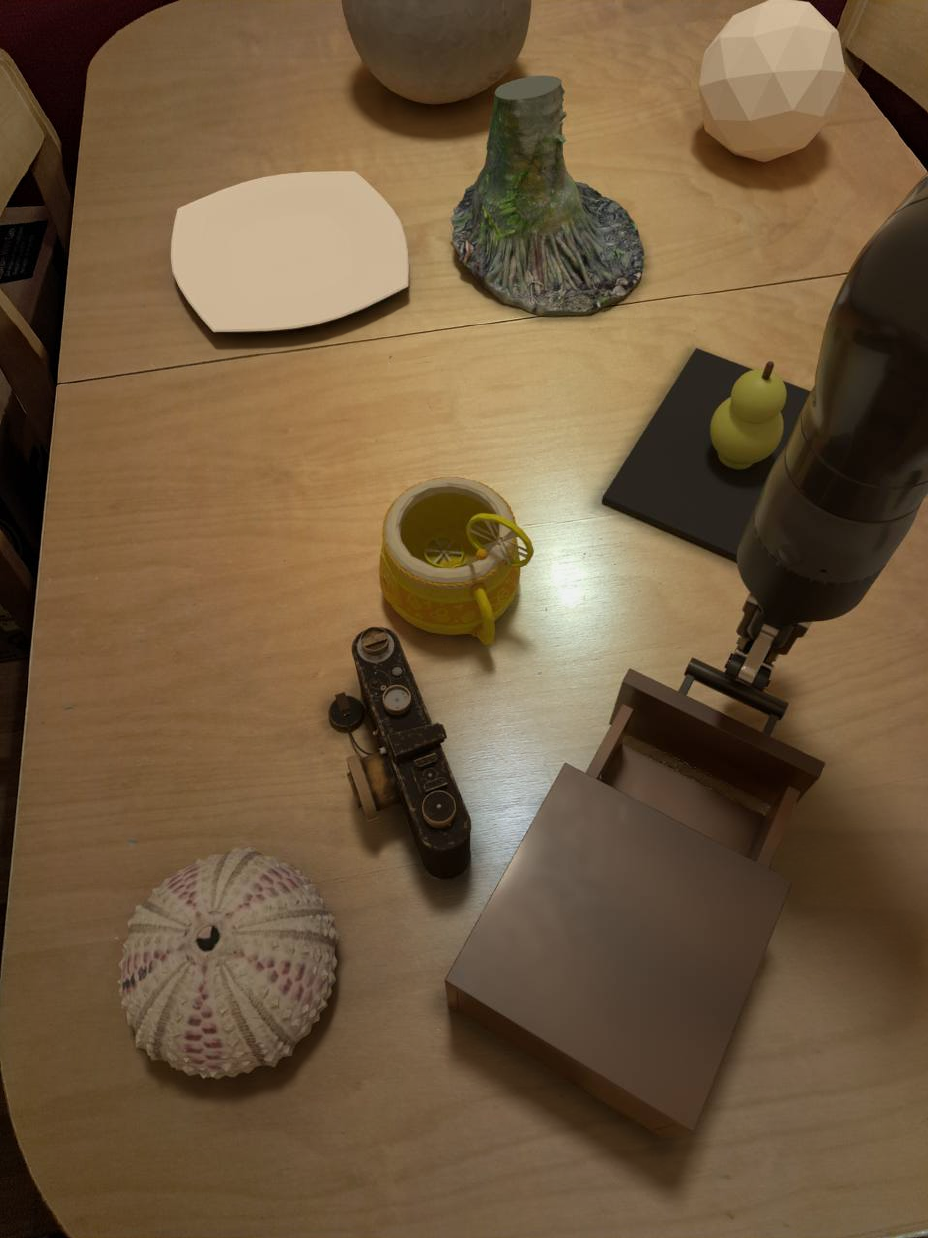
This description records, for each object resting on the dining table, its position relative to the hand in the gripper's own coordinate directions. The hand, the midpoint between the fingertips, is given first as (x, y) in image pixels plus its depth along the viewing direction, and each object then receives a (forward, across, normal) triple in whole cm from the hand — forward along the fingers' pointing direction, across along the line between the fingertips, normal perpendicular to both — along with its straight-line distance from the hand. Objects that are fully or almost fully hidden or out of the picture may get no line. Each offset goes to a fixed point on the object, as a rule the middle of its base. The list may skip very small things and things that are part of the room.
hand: (744, 670), depth 65 cm
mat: (+4, +22, +8) cm, 24 cm away
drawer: (+4, -10, 0) cm, 11 cm away
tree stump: (+5, +37, +35) cm, 52 cm away
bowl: (+5, +57, +60) cm, 83 cm away
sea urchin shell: (+5, -33, +20) cm, 39 cm away
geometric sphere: (+5, +64, +24) cm, 69 cm away
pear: (+4, +21, +8) cm, 23 cm away
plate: (+5, +23, +56) cm, 61 cm away
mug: (+5, -2, +22) cm, 23 cm away
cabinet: (+4, -21, 0) cm, 22 cm away
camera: (+5, -17, +18) cm, 25 cm away
